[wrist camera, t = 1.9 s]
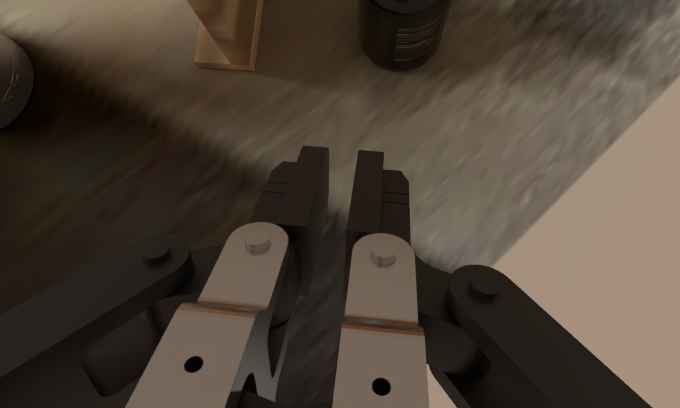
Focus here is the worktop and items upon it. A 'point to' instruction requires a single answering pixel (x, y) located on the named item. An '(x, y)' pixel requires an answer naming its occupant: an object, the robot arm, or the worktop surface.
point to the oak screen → (227, 33)
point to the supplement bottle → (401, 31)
